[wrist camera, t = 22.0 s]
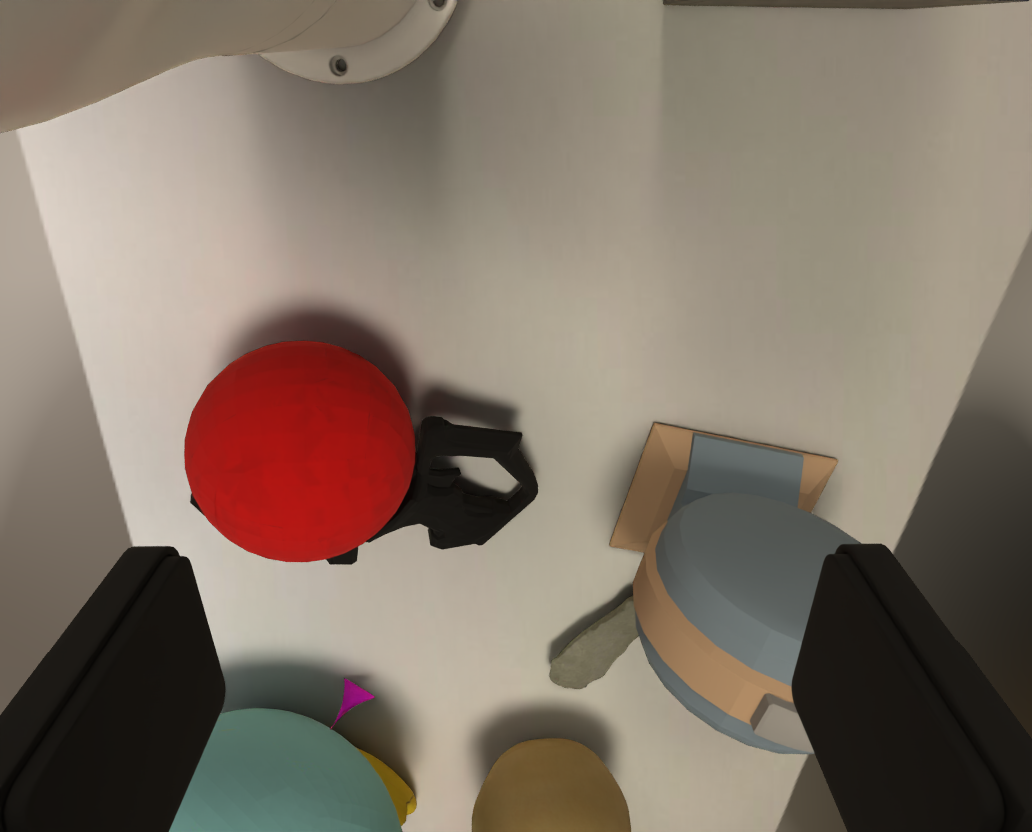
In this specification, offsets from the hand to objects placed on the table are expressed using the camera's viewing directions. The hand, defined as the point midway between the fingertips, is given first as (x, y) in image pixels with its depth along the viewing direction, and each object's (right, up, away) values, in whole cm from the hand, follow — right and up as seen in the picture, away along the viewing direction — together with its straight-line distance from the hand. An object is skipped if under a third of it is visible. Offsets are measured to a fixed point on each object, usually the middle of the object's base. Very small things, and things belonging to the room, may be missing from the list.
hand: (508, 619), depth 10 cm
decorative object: (-8, +2, +34) cm, 35 cm away
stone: (+6, -11, +39) cm, 41 cm away
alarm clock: (+14, -3, +36) cm, 38 cm away
